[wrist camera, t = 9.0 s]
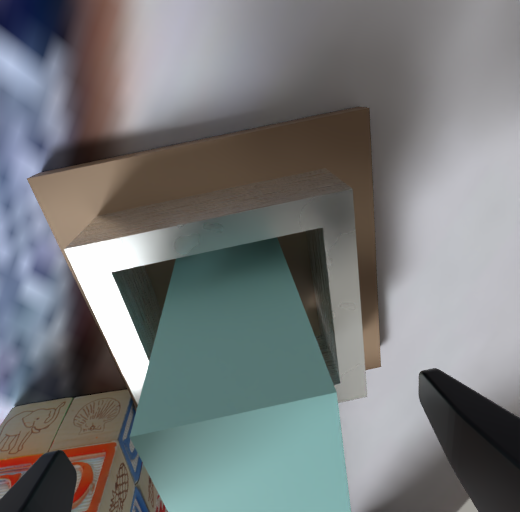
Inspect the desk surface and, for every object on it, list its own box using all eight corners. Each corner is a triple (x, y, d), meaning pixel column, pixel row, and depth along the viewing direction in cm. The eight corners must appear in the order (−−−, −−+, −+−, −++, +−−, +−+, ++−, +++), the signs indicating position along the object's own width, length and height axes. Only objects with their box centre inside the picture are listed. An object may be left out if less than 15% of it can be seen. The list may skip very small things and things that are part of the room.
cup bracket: (343, 346, 17) (367, 396, 14) (166, 385, 17) (155, 442, 14) (324, 168, 13) (352, 188, 10) (96, 215, 13) (64, 249, 10)
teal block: (290, 317, 16) (351, 511, 8) (202, 336, 16) (186, 548, 8) (276, 235, 14) (336, 392, 7) (176, 256, 14) (129, 437, 7)
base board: (372, 353, 18) (380, 366, 17) (145, 402, 18) (141, 418, 17) (359, 106, 13) (369, 107, 12) (40, 172, 13) (26, 178, 12)
